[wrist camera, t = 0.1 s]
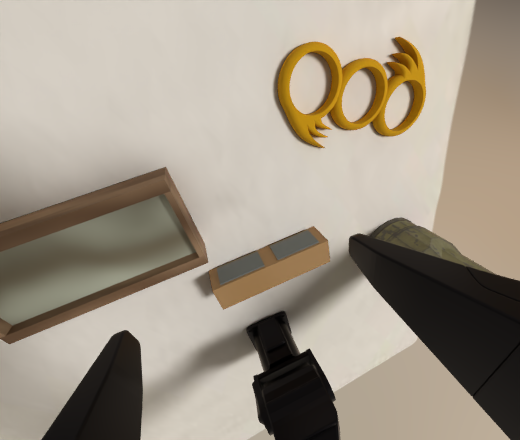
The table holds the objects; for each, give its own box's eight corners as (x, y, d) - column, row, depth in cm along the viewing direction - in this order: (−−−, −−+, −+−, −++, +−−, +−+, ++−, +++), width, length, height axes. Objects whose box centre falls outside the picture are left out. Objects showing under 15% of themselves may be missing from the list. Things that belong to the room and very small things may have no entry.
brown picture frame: (204, 243, 24) (208, 262, 22) (29, 313, 22) (9, 344, 19) (165, 167, 19) (164, 179, 17) (-69, 246, 17) (-113, 276, 14)
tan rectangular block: (315, 245, 30) (330, 261, 28) (218, 287, 29) (223, 309, 26) (312, 224, 28) (327, 239, 25) (207, 268, 27) (211, 290, 24)
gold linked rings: (289, -1, 17) (265, 138, 21) (299, -8, 15) (271, 142, 20) (434, 56, 23) (391, 155, 27) (450, 54, 21) (402, 158, 26)
